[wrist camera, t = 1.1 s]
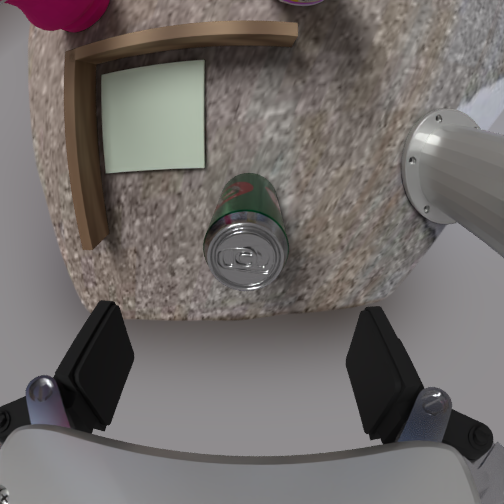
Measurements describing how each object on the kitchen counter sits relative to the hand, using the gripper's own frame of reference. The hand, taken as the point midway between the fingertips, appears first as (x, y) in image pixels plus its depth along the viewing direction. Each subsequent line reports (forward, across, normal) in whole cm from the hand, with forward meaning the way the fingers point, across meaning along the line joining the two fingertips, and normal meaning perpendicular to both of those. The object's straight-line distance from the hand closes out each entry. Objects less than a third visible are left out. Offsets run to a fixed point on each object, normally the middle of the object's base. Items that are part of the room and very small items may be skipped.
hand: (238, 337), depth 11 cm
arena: (+18, +6, -6) cm, 20 cm away
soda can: (+18, 0, 0) cm, 18 cm away
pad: (+18, +9, -8) cm, 22 cm away
